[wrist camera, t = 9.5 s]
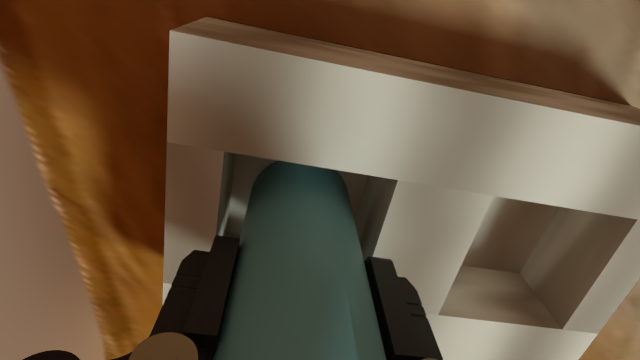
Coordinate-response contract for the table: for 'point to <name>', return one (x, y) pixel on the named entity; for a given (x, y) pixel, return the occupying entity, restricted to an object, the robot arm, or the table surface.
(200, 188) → the hole board
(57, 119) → the table surface
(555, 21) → the table surface
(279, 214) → the pin
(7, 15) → the table surface
